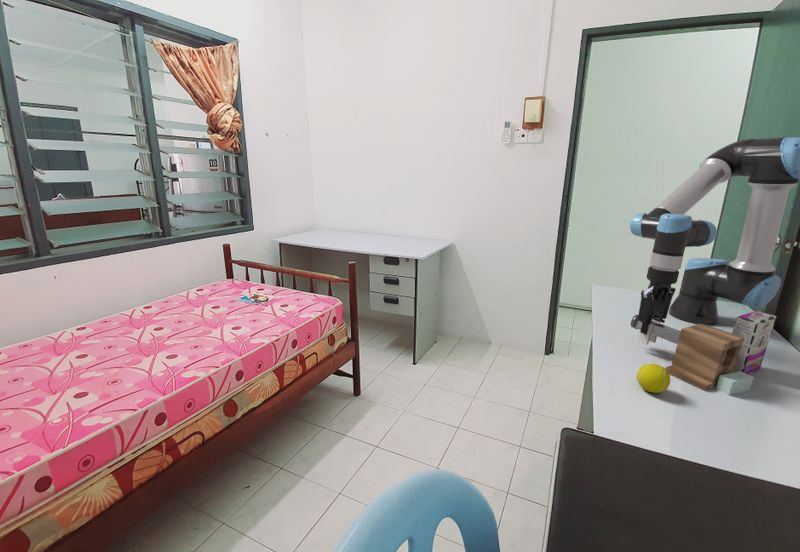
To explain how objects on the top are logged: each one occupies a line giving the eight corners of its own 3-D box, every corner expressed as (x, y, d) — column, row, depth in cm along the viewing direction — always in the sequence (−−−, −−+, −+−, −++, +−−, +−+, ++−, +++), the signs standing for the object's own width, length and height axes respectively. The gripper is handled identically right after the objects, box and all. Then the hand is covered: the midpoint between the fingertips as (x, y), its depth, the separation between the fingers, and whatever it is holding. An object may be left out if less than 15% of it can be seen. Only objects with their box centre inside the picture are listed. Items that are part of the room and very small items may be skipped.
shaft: (638, 326, 122) (641, 313, 121) (714, 356, 104) (719, 341, 103) (629, 328, 120) (632, 315, 119) (705, 359, 102) (710, 344, 101)
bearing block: (696, 361, 114) (707, 321, 110) (736, 377, 105) (750, 335, 102) (664, 372, 106) (674, 330, 103) (704, 390, 98) (718, 346, 94)
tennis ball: (631, 390, 97) (637, 365, 95) (637, 379, 102) (642, 355, 100) (664, 401, 93) (671, 376, 91) (668, 389, 98) (674, 365, 96)
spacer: (740, 371, 101) (753, 377, 98) (736, 384, 102) (749, 391, 99) (719, 375, 98) (732, 381, 95) (715, 389, 99) (728, 395, 97)
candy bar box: (739, 361, 114) (755, 310, 110) (760, 369, 110) (778, 316, 105) (720, 369, 109) (736, 315, 105) (741, 378, 105) (759, 322, 100)
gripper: (666, 262, 118) (650, 332, 125) (634, 267, 111) (618, 341, 118) (693, 268, 112) (674, 342, 118) (660, 273, 105) (642, 351, 111)
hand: (646, 341), depth 118 cm, fingers closed on shaft, 3 cm apart
